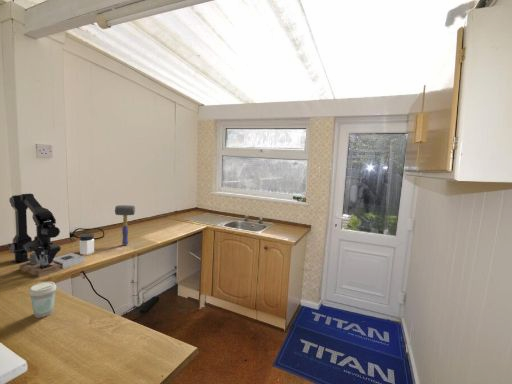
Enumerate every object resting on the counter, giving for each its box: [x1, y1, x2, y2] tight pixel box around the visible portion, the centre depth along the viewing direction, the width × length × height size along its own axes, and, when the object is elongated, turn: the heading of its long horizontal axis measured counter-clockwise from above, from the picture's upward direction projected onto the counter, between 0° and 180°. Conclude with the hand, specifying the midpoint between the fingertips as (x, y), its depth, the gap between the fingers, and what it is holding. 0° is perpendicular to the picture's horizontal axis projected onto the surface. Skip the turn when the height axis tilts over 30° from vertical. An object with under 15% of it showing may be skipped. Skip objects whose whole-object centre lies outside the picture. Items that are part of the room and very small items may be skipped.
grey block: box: [40, 251, 50, 269], centre depth 138 cm, size 4×4×12 cm
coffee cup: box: [28, 281, 57, 319], centre depth 102 cm, size 8×8×12 cm
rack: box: [18, 251, 61, 278], centre depth 139 cm, size 18×10×9 cm, turn 68°
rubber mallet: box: [114, 204, 136, 246], centre depth 185 cm, size 12×8×30 cm, turn 106°
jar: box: [78, 233, 95, 256], centre depth 167 cm, size 9×8×12 cm
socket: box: [52, 252, 85, 269], centre depth 151 cm, size 12×12×3 cm
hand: (44, 261), depth 138 cm, fingers open, 9 cm apart
